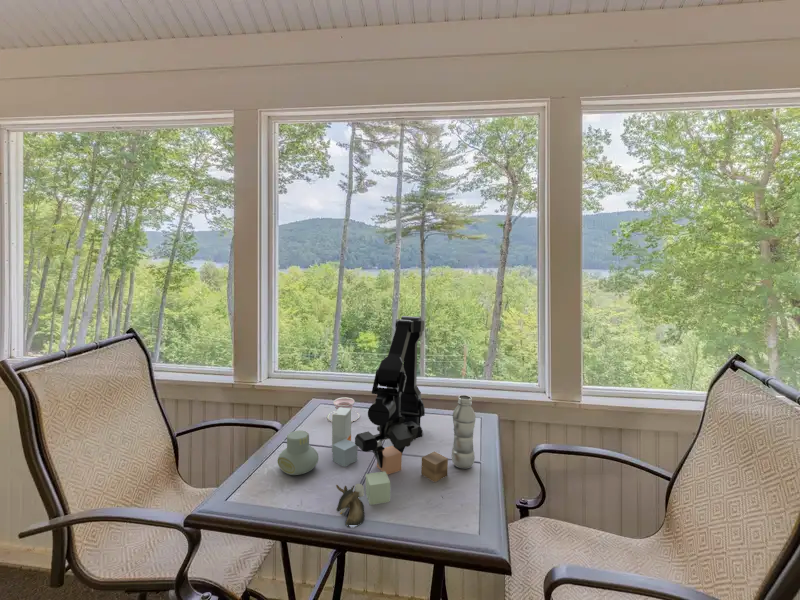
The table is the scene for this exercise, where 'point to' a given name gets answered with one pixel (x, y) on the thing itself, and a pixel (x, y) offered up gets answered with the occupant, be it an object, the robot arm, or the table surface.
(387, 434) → the robot arm
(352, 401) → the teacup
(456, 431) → the plastic bottle
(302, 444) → the air freshener
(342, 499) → the deer head figurine
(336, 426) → the skincare box
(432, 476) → the walnut cube
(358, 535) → the table surface
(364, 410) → the table surface
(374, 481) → the sage cube
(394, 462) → the terracotta cube
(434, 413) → the table surface
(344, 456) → the slate cube
